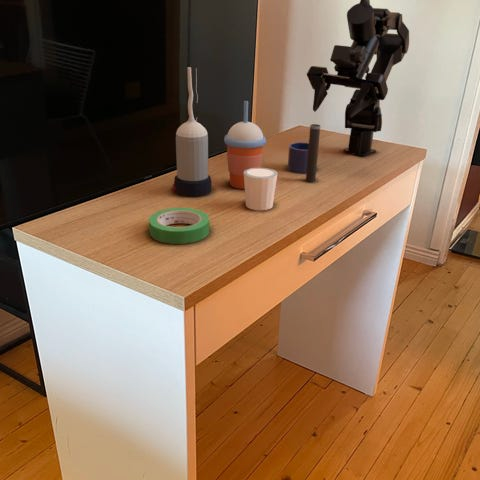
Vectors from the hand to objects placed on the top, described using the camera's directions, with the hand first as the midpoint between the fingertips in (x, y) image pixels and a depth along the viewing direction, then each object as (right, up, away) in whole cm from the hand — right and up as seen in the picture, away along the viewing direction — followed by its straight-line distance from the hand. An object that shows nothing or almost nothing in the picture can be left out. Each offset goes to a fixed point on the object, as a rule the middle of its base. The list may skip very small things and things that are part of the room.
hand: (331, 113), depth 132 cm
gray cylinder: (-5, -15, +2) cm, 16 cm away
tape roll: (-32, -31, -24) cm, 51 cm away
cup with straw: (-20, -17, -1) cm, 26 cm away
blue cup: (-6, -10, +9) cm, 15 cm away
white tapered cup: (-17, -24, -12) cm, 31 cm away
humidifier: (-31, -19, -5) cm, 37 cm away
